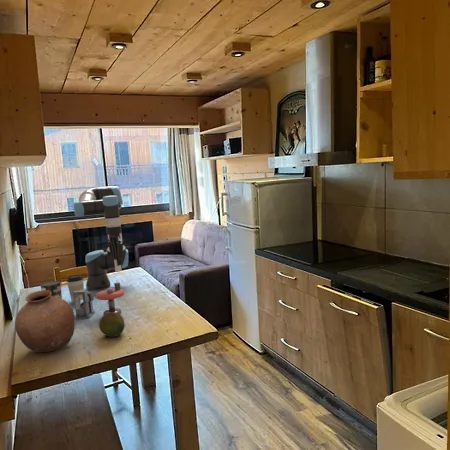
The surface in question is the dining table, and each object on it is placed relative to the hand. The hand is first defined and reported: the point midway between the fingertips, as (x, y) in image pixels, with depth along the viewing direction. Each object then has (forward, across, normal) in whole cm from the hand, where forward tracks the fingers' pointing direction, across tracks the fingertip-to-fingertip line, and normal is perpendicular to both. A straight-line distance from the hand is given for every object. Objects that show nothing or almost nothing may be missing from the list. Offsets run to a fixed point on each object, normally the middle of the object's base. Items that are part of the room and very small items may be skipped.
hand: (118, 271), depth 210 cm
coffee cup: (+21, -41, -6) cm, 47 cm away
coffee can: (+22, -41, -20) cm, 51 cm away
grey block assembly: (+21, -14, -15) cm, 29 cm away
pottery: (+22, +14, -44) cm, 51 cm away
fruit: (+22, +25, -19) cm, 38 cm away
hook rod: (+17, -15, -13) cm, 26 cm away
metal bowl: (+22, -2, -5) cm, 22 cm away
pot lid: (+12, -2, -5) cm, 13 cm away
